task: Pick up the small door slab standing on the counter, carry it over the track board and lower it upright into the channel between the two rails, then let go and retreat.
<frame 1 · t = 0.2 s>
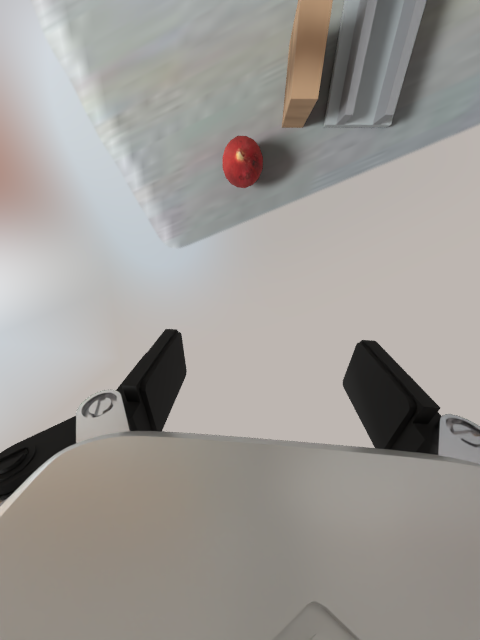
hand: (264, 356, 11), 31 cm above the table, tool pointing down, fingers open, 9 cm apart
track: (373, 41, 24), on the table
door slab: (296, 88, 27), on the table
onion: (243, 169, 32), on the table
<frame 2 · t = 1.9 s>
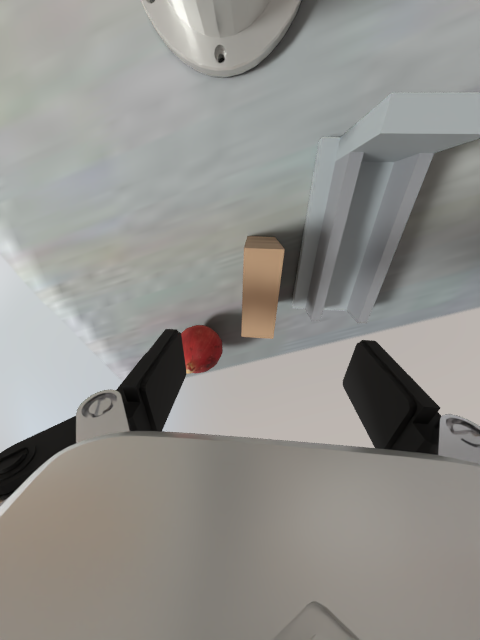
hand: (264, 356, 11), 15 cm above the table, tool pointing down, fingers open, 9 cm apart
track: (344, 239, 21), on the table
door slab: (258, 272, 23), on the table
onion: (206, 331, 28), on the table
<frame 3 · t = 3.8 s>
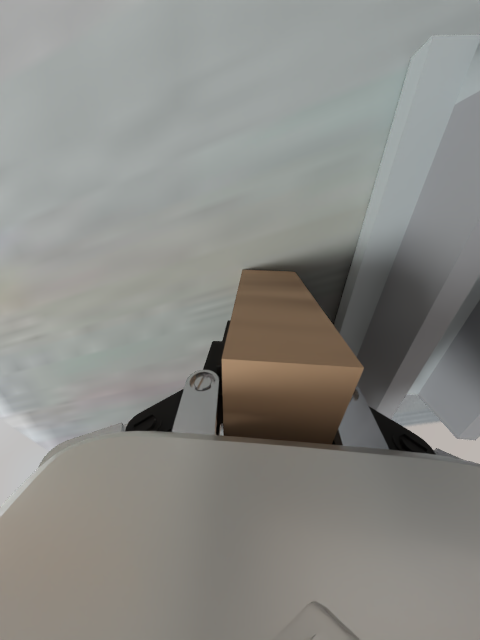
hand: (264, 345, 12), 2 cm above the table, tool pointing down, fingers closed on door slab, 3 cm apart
track: (432, 276, 11), on the table
door slab: (263, 330, 13), on the table, touching gripper
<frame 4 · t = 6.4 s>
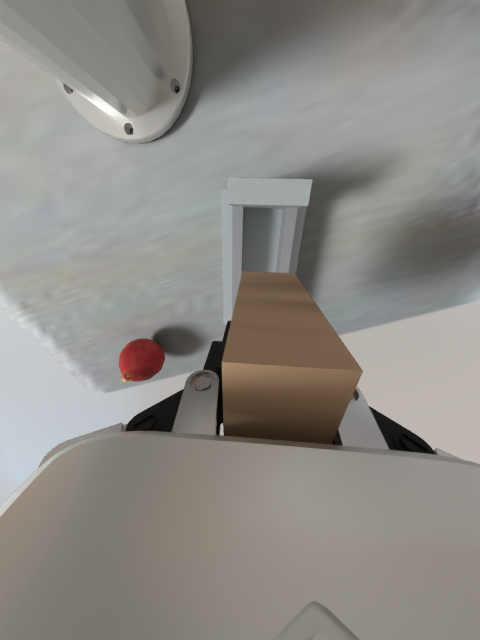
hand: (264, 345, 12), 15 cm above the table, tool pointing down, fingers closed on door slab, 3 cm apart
track: (259, 266, 24), on the table
door slab: (262, 331, 13), point 14 cm above the table, touching gripper
onion: (154, 343, 32), on the table
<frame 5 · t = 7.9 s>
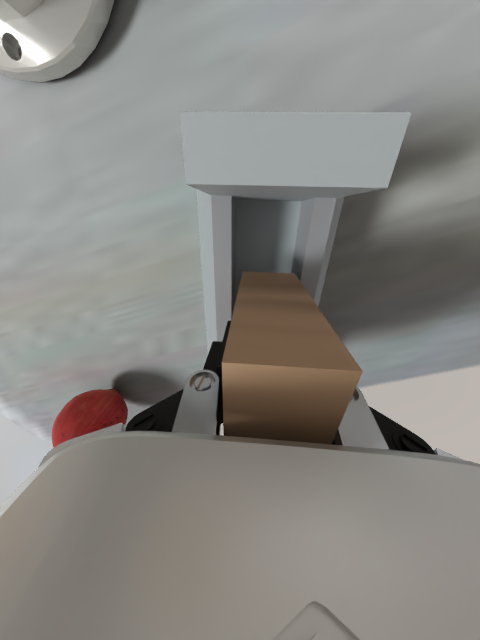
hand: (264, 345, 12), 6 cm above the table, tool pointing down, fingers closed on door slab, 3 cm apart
track: (260, 292, 16), on the table
door slab: (262, 331, 13), point 4 cm above the table, touching gripper
onion: (117, 389, 23), on the table
when the fingers open (5 cm above the table, at t = 9.1 s): door slab drops 2 cm, resting on track.
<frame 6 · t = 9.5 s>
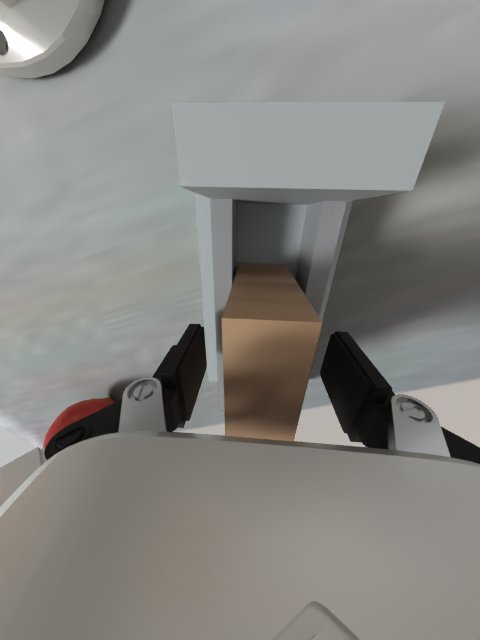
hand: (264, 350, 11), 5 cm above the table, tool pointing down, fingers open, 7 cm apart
track: (262, 300, 15), on the table
door slab: (258, 317, 15), point 1 cm above the table, touching track
onion: (113, 398, 22), on the table
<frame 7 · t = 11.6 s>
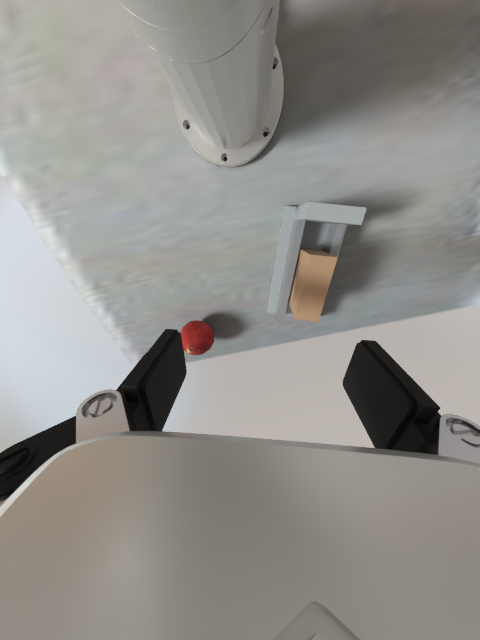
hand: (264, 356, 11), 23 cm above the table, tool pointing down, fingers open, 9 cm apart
track: (302, 267, 31), on the table
door slab: (300, 274, 30), point 1 cm above the table, touching track
onion: (202, 326, 37), on the table
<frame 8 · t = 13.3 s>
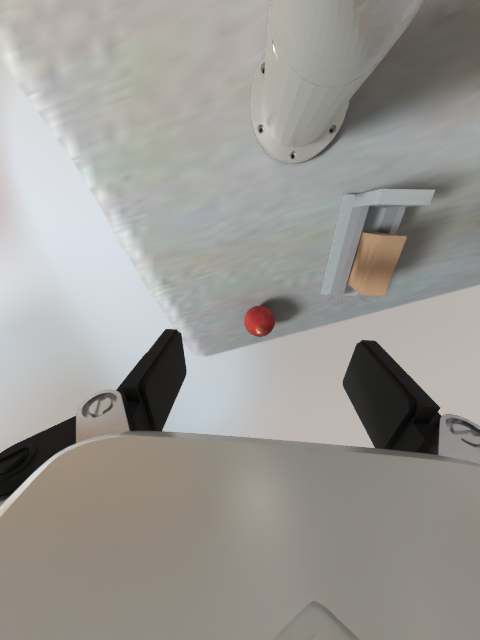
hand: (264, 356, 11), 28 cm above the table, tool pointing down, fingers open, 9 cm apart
track: (356, 250, 34), on the table
door slab: (356, 257, 33), point 1 cm above the table, touching track
onion: (259, 312, 41), on the table
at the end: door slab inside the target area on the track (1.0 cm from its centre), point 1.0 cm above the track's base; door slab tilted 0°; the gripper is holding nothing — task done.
